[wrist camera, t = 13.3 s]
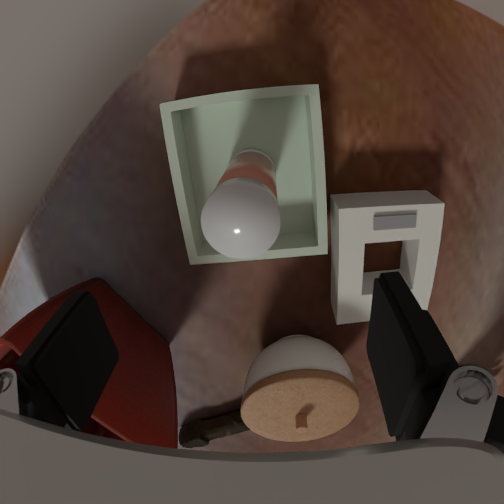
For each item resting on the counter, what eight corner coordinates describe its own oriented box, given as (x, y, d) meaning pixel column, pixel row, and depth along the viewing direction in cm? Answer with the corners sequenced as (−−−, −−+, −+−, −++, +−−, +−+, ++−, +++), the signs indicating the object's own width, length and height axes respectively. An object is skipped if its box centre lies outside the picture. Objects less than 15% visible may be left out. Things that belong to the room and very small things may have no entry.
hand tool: (272, 391, 42) (271, 417, 38) (284, 405, 43) (285, 430, 39) (171, 418, 47) (165, 440, 43) (186, 430, 48) (181, 451, 44)
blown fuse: (272, 145, 26) (276, 180, 15) (277, 191, 28) (283, 255, 17) (224, 151, 26) (194, 189, 16) (231, 196, 28) (208, 261, 18)
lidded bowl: (295, 297, 34) (303, 375, 24) (366, 348, 37) (386, 419, 28) (225, 358, 39) (214, 431, 29) (296, 397, 42) (300, 463, 32)
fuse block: (425, 190, 28) (446, 204, 24) (413, 291, 33) (427, 314, 29) (329, 194, 29) (339, 210, 25) (330, 301, 34) (337, 326, 30)
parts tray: (311, 86, 24) (318, 84, 21) (320, 234, 31) (327, 253, 27) (173, 102, 25) (159, 103, 22) (198, 245, 32) (190, 264, 28)
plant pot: (30, 310, 38) (-31, 390, 23) (93, 236, 32) (0, 335, 17) (122, 392, 44) (88, 480, 29) (207, 349, 38) (182, 470, 23)
